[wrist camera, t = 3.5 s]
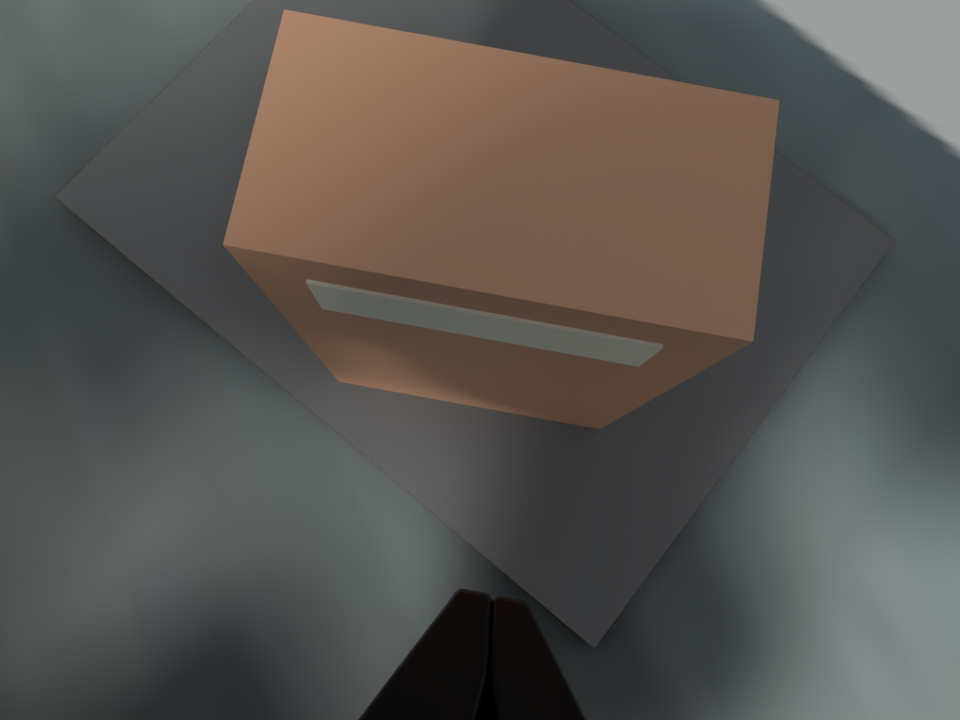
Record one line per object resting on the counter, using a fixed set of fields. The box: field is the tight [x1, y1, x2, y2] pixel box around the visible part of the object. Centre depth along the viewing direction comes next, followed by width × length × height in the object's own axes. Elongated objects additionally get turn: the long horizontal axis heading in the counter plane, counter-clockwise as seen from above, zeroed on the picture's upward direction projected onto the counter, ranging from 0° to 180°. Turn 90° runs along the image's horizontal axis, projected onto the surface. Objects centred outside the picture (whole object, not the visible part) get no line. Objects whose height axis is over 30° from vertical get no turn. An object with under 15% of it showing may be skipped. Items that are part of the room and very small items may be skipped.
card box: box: [223, 9, 780, 429], centre depth 13 cm, size 3×6×9 cm, turn 80°
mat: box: [55, 0, 895, 648], centre depth 19 cm, size 16×12×1 cm
